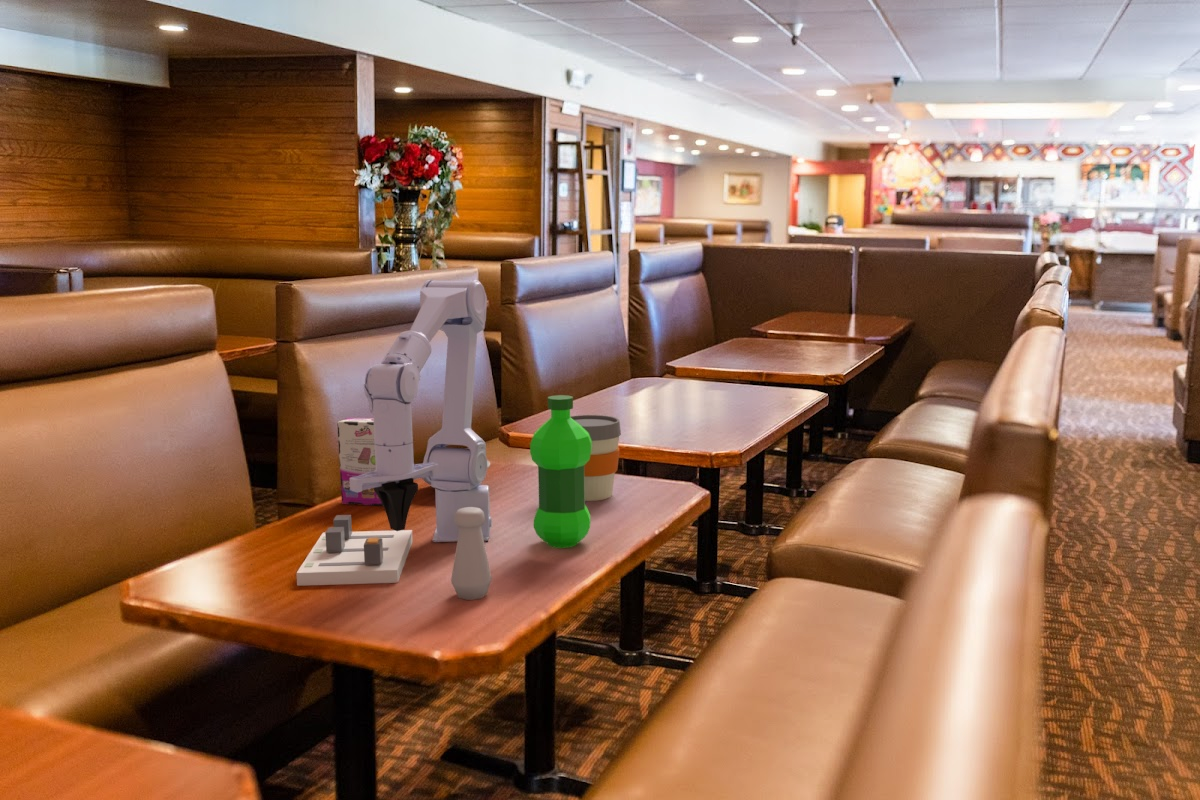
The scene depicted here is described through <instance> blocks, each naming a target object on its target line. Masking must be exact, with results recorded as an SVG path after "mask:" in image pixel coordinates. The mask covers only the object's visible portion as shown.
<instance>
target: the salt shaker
mask: <svg viewBox="0 0 1200 800" xmlns="http://www.w3.org/2000/svg"><path fill="white" fill-rule="evenodd" d="M454 519H455V524H456V525H457V526H458V527H460V530H459V536H458V541H456V547H455V548H456V550H455V555H454V561H453V567H452V572H451V578H450V581H451V584H452V587H453V588H454V591H455V592H456V594H457V596H458V599H462V600H466V601H472V600H480V599H481V600H482V598H484V597H485V596H487V593H488V591H489V588H490V585H491V584H492V575H491V568H490V564H489V558H488V554H487V549H486V545H485V541H484V539H483V534H482V529H481V525H483V524H484V521H485V515H484V512H483V511H482V510H481V509H480V508H476V507H465V508H461V509H459V510H458V511H457V512H456V513H455V517H454Z"/></svg>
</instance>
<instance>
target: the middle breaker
mask: <svg viewBox="0 0 1200 800" xmlns="http://www.w3.org/2000/svg"><path fill="white" fill-rule="evenodd" d="M325 535H326V552H342V550H343V549H344V547H345V537H344V527H334V526H328V528H327V530H325Z"/></svg>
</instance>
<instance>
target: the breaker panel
mask: <svg viewBox="0 0 1200 800" xmlns="http://www.w3.org/2000/svg"><path fill="white" fill-rule="evenodd" d="M325 532H326V531H325ZM325 532H324V531H323V532H322V533H321V535H320V537H319V538H318V539H317V541H316V543H315V544H314V545H313V547H312V549H311V550H310V552H309V553H308V554H307V556H306V558H305V560H304V561H303V563H302V564H301V565H300V567H299V568H298V570H297V572H296V585H297V586H326V585H327V586H328V585H329V586H330V585H332V586H333V585H361V584H362V585H365V584H367V585H368V584H391V583H392V584H393V583H394V584H396V583H399V580H400V579H401V578H400V577H401V575H402V572H403V569H404V566H405V564H406V561H407V558H408V555H409V553H410V549H411V547H412V544H413V542H414V541H413V539H414V538H413V529H404V530H400V531H395V530H367V531H352V534H351V536H350V538H349V539H345V547H344V549H343V550H342V552H326V535H325ZM368 538H382V542H383V560H382V562H381V564H376V565H365V561H364V543H365V541H366V539H368Z"/></svg>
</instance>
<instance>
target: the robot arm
mask: <svg viewBox="0 0 1200 800" xmlns="http://www.w3.org/2000/svg"><path fill="white" fill-rule="evenodd" d="M419 292H420V293H419V303H420V304H419V305H420V309H419V310H418V313H417V315H416V317H415V319H414V321H413V322H412V325H411V327H410V329H409V330H405V331H402V332H400V333H399V334H398V336H397V337H396V339H395V341H394V342H393V344H392V345H391V346H390V348H389V350H388V351H387V353H386V354H385V356H384V358H383V359H382V361H381V362H380V363H375V364H374V365H372V366H371V367H369V368H368V370H367V371H366V373H365V378H364V383H363V389H364V394H365V397H366V398H367V401H368V410H369V411H370V413H371V414H372V418H373V421H374V441H375V462H376V470H374V471H371V472H368V473H365V474H362V475H359V476H356V477H351V478H350V490H351V491H354V492H362V491H363V490H365V489H370V488H374V491H375V492H376V494H377V495H378V497H379V499H380V501H381V503H382V505H383V506H382V507H383V509H384V511H385V514H386V518H387V520H388V523H389V527H390V529H391V530H392V531H394V530H395V531H400V530H406V523H407V519H408V515H409V511H410V508H411V505H412V503H413V500H414V498H415V496H416V494H417V493H418V491H419V483H417V482H415V481H414V480H419V479H422V478H424V477H426V478H427V480H428V481H429V482H431V485H430V486H431V488H434V490H435V491H434V492H435V493H434V494H435V521H436V527H435V531H434V534H433V537H432V542H433V543H443V542H444V543H445V542H449V543H451V542H458V536H459V530H460V527H458V526H457V525H456V524H455V519H454V517H455V513H456V512H457V511H458V510H459V509H461V508H465V507H476V508H480V509H481V510H482V511H483V512H484V515H485V521H484V524H483V525H481V529H482V534H483V539H484V542H486V541H489V540H490V533H491V528H492V522H493V521H492V516H491V515H490V514H491V513H490V512H491V511H490V510H491V509H490V505H491V504H490V486H489V485H487V484H482V483H483V481H484V480H485V479H486V476H487V471H488V468H487V460H488V458H487V445H486V442H485V441H484V440H483V438H482V437H480V436H479V435H478V434H477V433H476V432H475V431H474V430H473V429H472V421H473V420H472V419H473V418H472V417H473V406H474V405H473V402H474V387H475V371H476V360H477V359H476V357H477V344H478V343H477V341H478V334H479V333H481V332H482V331H484V330H485V328H486V320H487V308H488V307H487V304H488V297H487V293H486V291H485V287H484V285H483V284H482V283H481V281H480V280H478V279H474V280H435V279H427V280H426V281H425V282H424V283H423V285H422V286H421V290H420V291H419ZM439 331H441V332H443V333H444V334H445V336H446V337H447V345H446V347H447V348H446V360H445V362H446V364H445V375H444V376H445V377H444V391H443V393H444V394H443V407H442V420H441V421H442V423H441V428H440V430H438V431H437V432H436V433H435V434H433V435H432V436H431V437H429V439H427V445H426V452H425V453H424V454H425V455H424V457H423V462H422V463H415V462H414V441H413V439H414V437H413V436H414V435H413V433H414V432H413V414H412V401H414V399H415V398H416V397H417V394H418V390H419V382H420V380H421V371H422V370H423V368H424V366H425V365H426V363H427V362H428V360H429V358H430V357H431V354H432V345H431V343H430V342H431V341H432V340H433V338H434V337H435V336H436V335H437V333H438V332H439ZM451 445H452V446H453V445H454V446H464V447H467V448H461V447H448V446H451Z"/></svg>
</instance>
